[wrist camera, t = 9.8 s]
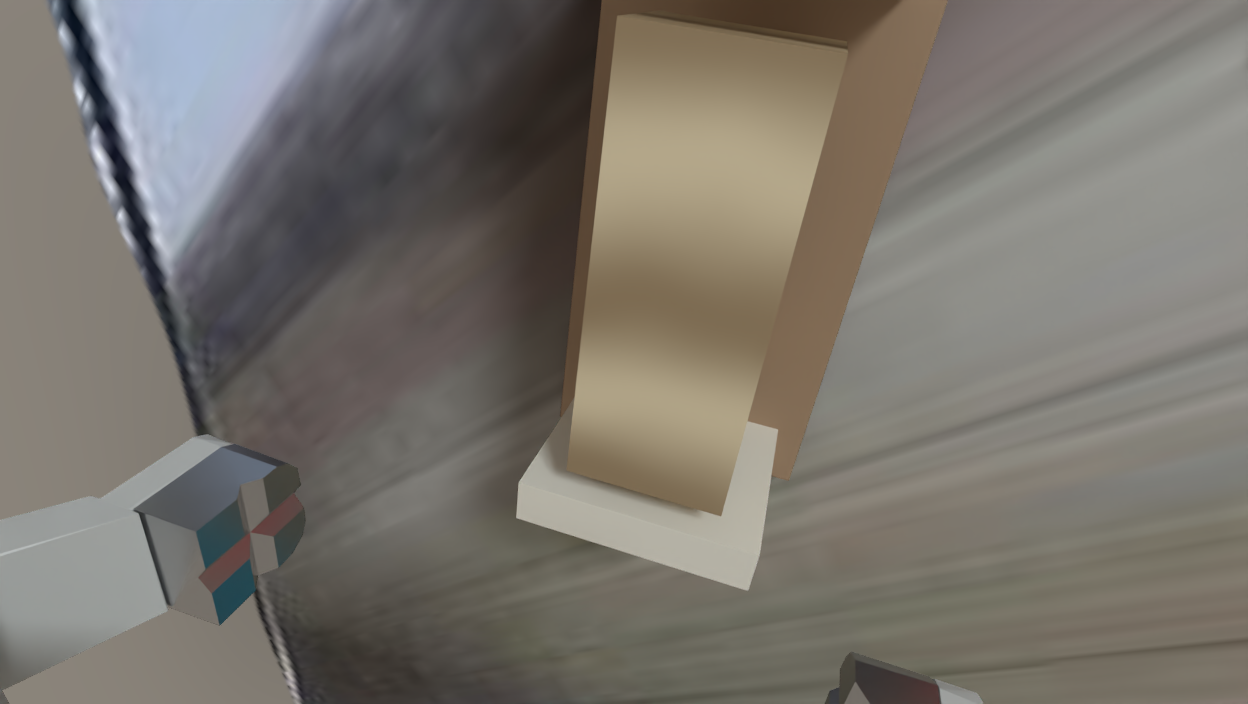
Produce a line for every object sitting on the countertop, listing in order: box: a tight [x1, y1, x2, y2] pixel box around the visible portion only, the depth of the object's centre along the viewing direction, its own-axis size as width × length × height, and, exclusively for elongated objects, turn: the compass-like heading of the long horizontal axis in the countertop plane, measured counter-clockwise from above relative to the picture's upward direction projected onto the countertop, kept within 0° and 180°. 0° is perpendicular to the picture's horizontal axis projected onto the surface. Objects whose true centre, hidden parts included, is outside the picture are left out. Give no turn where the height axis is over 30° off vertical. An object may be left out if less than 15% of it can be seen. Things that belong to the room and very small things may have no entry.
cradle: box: [516, 0, 948, 591], centre depth 21 cm, size 20×10×8 cm, turn 172°
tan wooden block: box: [566, 11, 848, 516], centre depth 19 cm, size 13×5×4 cm, turn 172°
